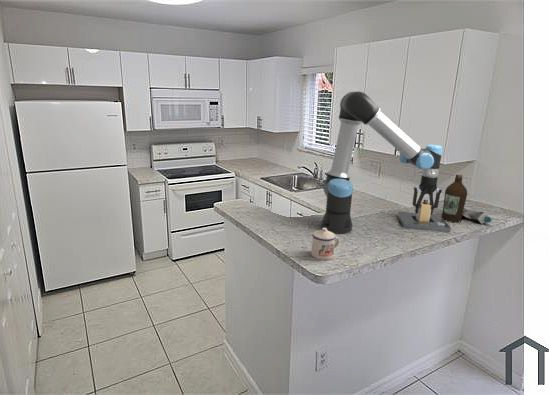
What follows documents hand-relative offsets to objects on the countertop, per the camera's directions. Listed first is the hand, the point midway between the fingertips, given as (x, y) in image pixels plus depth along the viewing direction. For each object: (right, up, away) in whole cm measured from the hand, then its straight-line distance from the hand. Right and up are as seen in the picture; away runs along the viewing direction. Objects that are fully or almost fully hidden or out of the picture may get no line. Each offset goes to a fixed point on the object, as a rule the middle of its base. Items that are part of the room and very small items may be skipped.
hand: (422, 219), depth 184 cm
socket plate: (0, -2, +1) cm, 2 cm away
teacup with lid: (-57, -12, -42) cm, 72 cm away
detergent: (+30, -1, +11) cm, 32 cm away
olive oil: (+19, -1, +9) cm, 21 cm away
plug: (0, 0, 0) cm, 0 cm away
